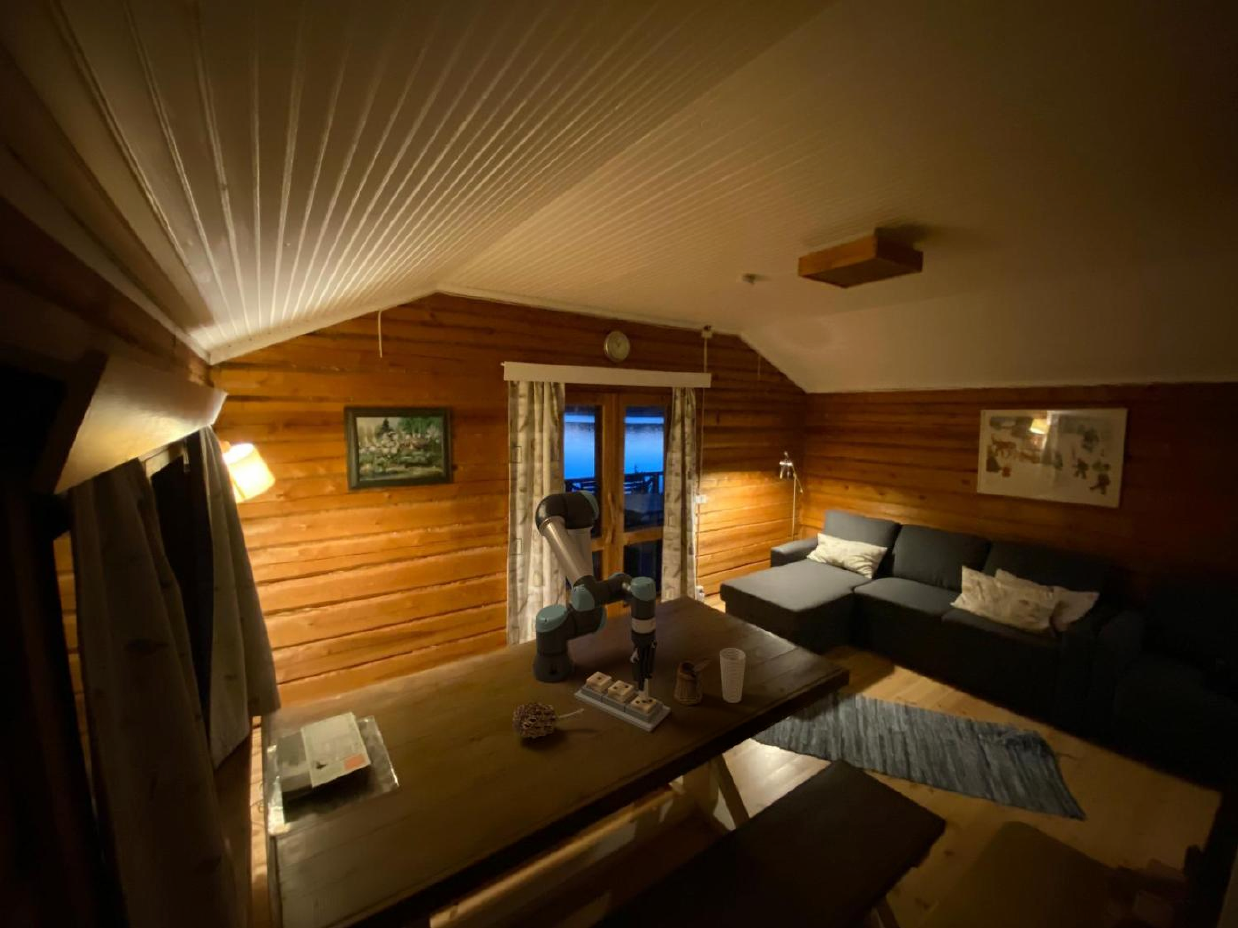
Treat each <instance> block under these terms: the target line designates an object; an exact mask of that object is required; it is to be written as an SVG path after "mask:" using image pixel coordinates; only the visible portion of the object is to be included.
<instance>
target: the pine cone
mask: <svg viewBox="0 0 1238 928" xmlns="http://www.w3.org/2000/svg"><path fill="white" fill-rule="evenodd" d="M584 711H585V709H584V708H581V707H580V708H579V710H576V711H574V712H571V713H567V714H563V715H559V716H558V714H556V713H555V709H554V707H553V705H552V704H548V703H547V702H544V703H542V702H540V701H539V702H537V701H534V703H533V702H529V703H527V704H522V705H520V706H518V707H517V709H516V710H515V711H513V717H512V729H513V731H514V732H516V734H517V735H519V736H522V737H524V738H527V739H528V738H530V737H531V738H532V739H535V738H539V737H545V736H547V735H550V734H553V732H554V729H555V725H556V724H558V723H557V722H560V721H565V720H568V719H571V718H576V717H579V716H584Z"/></svg>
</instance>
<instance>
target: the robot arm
mask: <svg viewBox="0 0 1238 928" xmlns="http://www.w3.org/2000/svg"><path fill="white" fill-rule="evenodd" d="M599 514H600V510H599V504H598V501H597V498H596V497H595V496H594V494H593V493H592V492H591V491H589V490H587V489H586V490H585V489H583V490H581V489H580V490H571V491H567V492H560V493H551V494H549V495H547V496H545V497H544V498H543V499H541V500H540V501H539V504H538V505H537V507H536V510H535V514H534V523H535V527H536V529H537V531H538V533H539V534H540V535H541V536H542V537H544V538H545V539H546V541H547V543H548V545H549V547H550V549H551V550H552V553H553V555H554V557H555V559H556V560H557V562H558V563H559V565H560V567H561V569H562V571H563V573H564V575H565V577H566V578H567V581H568V582H569V584H570V586H571V590H570V593H569V598H568V607H567V606H566V605H563V604H551V605H547V606H544V607H543V608H542V609H541V608H540V610H539V611H538V612H537V614H536V616H535V624H534V629H535V643H536V644H535V645H536V653H535V657H534V660H533V664H532V676H533V677H534V676H535V677H536V678H537V679H536V678H535V677H534V678H535V679H536V680H538V679H539V680H538V681H540V680H541V682H544V681H547V682H546V683H555V682H561V681H563V680H566V679H568V678H570V676H572V675H573V674H574V671H575V661H574V659H573V657H572V654H571V652H570V647H569V646H570V645H569V642H571V641H573V640H576V639H580V638H584V637H587V636H590V635H594V634H597V633H599V632H601V631H603V630H604V629H605V627H606V624H607V622H608V612H607V607H606V605H607V606H608V605H612V604H615V603H619V602H622V601H623V602H626V604H627V605H628V604H629V605H630V627H631V630H630V637H631V638H630V639H631V641H632V643H633V644H634V645H633V649H632V650H633V653H632V655H629V656H628V660H629V662H630V667H631V674H632V678H633V681H634V682H637V683H638V684H637V689H638V690H637V692H638V698H640V699H643V700H645V701H646V700H647V699H648V697H649V680H651V679H652V677H653V676H652V675H651V674H653V673H654V667H655V665H654V664H655V656H656V650H657V646H658V642H657V641H656V637H657V636H656V634H657V633H656V624H657V623H656V614H657V613H656V609H657V607H656V606H657V605H656V603H657V599H656V598H657V591H656V581H655V580H654V579H653V578H651V577H647V576H638V577H632V576H630V574H629V573H628V574H627V573H624V572H623V571H616V572H614V573H613V574H611V575H610V576H609V578H608V579H604V580H599V581H597V580H596V578H595V575H594V563H593V562H594V561H593V553H592V552H593V549H592V540H591V530H592V529H593V528H594V521H595V520H598V518H599Z"/></svg>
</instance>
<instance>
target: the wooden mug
mask: <svg viewBox="0 0 1238 928" xmlns="http://www.w3.org/2000/svg"><path fill="white" fill-rule="evenodd" d="M710 661H711V660H710V658H704V659H702V660H701V661H698V662H697V663H695V662H693V661H686V660H685V661H683V662H680V663H679V666H678V669H677V679H676V685H675V686H676V687H675V690H674V695H673V697H674V700H675V701H676V702H678V703H680V704H682V705H685V706H692V705H696V704H699V703H700V702H701V700H702V699H703V693H702V691H701V688H702V685H703V676H702V675H703V674H702V672H701V671H702V670H703V669H705V668H706V667H707V666H708V665H709V664H710Z"/></svg>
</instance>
